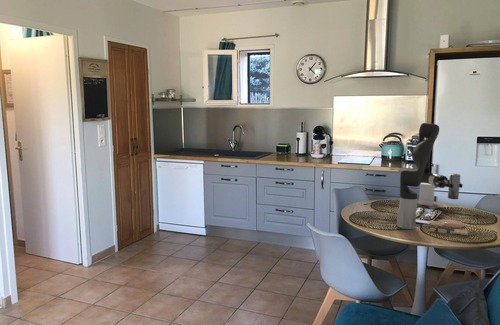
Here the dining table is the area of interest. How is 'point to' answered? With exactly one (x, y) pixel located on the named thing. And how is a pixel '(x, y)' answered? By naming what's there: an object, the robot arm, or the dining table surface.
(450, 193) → the tea canister
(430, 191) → the supplement box
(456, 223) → the tan round piece
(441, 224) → the balance
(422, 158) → the robot arm
